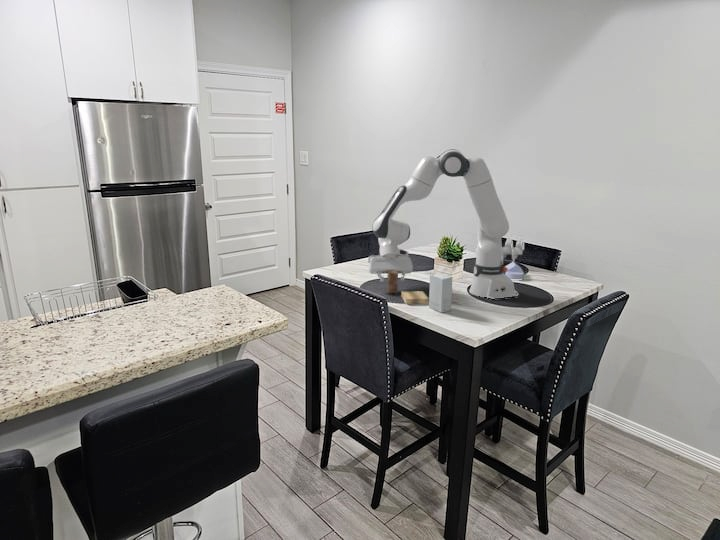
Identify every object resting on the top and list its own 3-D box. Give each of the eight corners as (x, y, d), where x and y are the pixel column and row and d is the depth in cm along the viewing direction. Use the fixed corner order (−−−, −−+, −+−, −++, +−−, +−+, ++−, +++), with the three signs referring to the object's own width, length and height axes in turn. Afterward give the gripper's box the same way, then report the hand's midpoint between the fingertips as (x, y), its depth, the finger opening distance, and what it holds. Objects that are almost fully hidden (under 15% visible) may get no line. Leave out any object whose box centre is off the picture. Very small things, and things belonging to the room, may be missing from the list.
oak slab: (422, 297, 219) (422, 291, 219) (428, 305, 210) (428, 298, 209) (400, 297, 218) (401, 291, 217) (405, 305, 209) (406, 299, 208)
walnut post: (395, 291, 225) (396, 270, 223) (396, 293, 222) (398, 273, 219) (386, 291, 225) (387, 270, 222) (388, 294, 221) (389, 273, 218)
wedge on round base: (503, 272, 261) (505, 279, 249) (504, 260, 259) (507, 267, 247) (520, 274, 260) (524, 281, 247) (522, 262, 258) (525, 268, 245)
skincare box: (451, 310, 203) (454, 277, 199) (440, 313, 200) (443, 279, 195) (437, 304, 210) (440, 272, 205) (427, 307, 206) (429, 273, 202)
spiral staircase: (475, 268, 283) (519, 269, 279) (476, 262, 266) (524, 263, 261) (476, 237, 286) (519, 238, 282) (477, 230, 269) (524, 231, 264)
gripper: (368, 251, 224) (371, 278, 217) (411, 251, 227) (415, 277, 220) (366, 258, 229) (369, 284, 223) (408, 258, 232) (412, 283, 225)
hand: (392, 281), depth 221 cm, fingers open, 8 cm apart
